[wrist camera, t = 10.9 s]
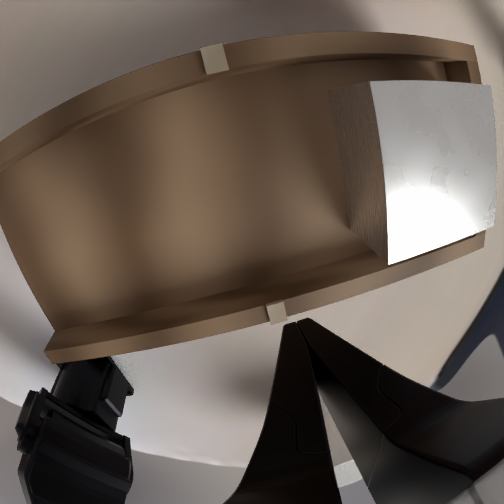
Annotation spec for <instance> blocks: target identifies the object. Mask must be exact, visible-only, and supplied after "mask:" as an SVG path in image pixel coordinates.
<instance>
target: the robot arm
mask: <svg viewBox="0 0 504 504" xmlns="http://www.w3.org/2000/svg"><path fill="white" fill-rule="evenodd" d="M56 364H57V365H58V367H59V368H60V371H59V373H58V376H57V378H56V380H55V383H54V385H53V387H52V390H51V392H50V393H49V392H48V390H46V389H45V388H43V387H42V389H41V390H40V391H39V392H38V391H32V390H30V391H29V393H28V395H27V397H26V399H25V401H24V404H23V406H22V409H21V411H20V414H19V417H18V420H17V423H16V427H15V429H16V432H17V434H18V439H17V440H18V445H17V450H18V451H20V452H21V453H23V454H22V458H21V461H20V464H19V467H18V476H19V480H20V483H21V487H22V490H23V493H24V496H25V499H26V503H27V504H125V499H126V495H127V493H128V492H129V490H130V488H131V485H132V481H133V466H132V456H131V446H130V438H129V437H127V436H122V435H120V434H118V433H116V432H115V430H116V425H117V420H118V417H121V416H122V413H123V408H124V403H125V399H126V396H131V395H133V393H134V389H133V388H132V386H131V385H130V384H129V382H128V381H127V380H126V378H125V377H124V375H123V374H122V373H121V371H120V370H119V368H118V367H117V366H116V364H115V363H114V361H113V360H112V358H111V357H110V356H106V357H100V358H93V359H87V360H80V361H72V362H64V363H56ZM318 391H319V392H318ZM319 393H320V395H321V397H322V399H323V401H324V403H325V405H326V407H327V409H328V411H329V413H330V415H331V417H332V419H333V421H334V423H335V425H336V427H337V429H338V431H339V433H340V435H341V437H342V438H343V440H344V442H345V444H346V446H347V448H348V450H349V452H350V454H351V456H352V458H353V460H354V462H355V464H356V466H357V468H358V470H359V472H360V474H361V476H362V478H363V479H364V481H365V483H366V485H367V487H368V489H369V491H370V493H371V495H372V497H373V499H374V501H375V503H376V504H504V398H498V399H491V400H483V401H473V402H470V401H462V400H458V399H455V398H452V397H449V396H447V395H445V394H442V393H440V392H438V391H435V390H433V389H431V388H428V387H426V386H424V385H421V384H419V383H417V382H415V381H413V380H411V379H409V378H406V377H405V376H403V375H401V374H399V373H397V372H396V371H394V370H392V369H391V368H389V367H387V366H386V365H383V364H382V363H381V362H379V361H377V360H376V359H374V358H372V357H371V356H369V355H368V354H366V353H364V352H363V351H361V350H359V349H358V348H356V347H355V346H353V345H351V344H350V343H348V342H347V341H345V340H343V339H342V338H340V337H339V336H337V335H336V334H334V333H332V332H331V331H329V330H328V329H326V328H324V327H323V326H321V325H320V324H318V323H317V322H315V321H313V320H312V319H310V318H305V319H302V320H299V321H297V323H296V322H292V323H289V324H286V325H284V327H283V332H282V337H281V343H280V348H279V354H278V359H277V364H276V369H275V374H274V380H273V385H272V390H271V394H270V399H269V404H268V408H267V413H266V417H265V421H264V425H263V428H262V431H261V434H260V437H259V440H258V442H257V445H256V447H255V450H254V452H253V455H252V457H251V459H250V462H249V464H248V466H247V469H246V471H245V473H244V476H243V478H242V480H241V482H240V484H239V486H238V487H237V489H236V490H235V492H234V493H233V494H232V495H231V496H230V497H229V498H228V500H226V502H224V503H223V504H342V501H341V496H340V492H339V488H338V484H337V480H336V476H335V472H334V467H333V462H332V457H331V452H330V446H329V441H328V436H327V431H326V426H325V421H324V416H323V411H322V407H321V402H320V397H319Z"/></svg>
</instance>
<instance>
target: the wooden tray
mask: <svg viewBox="0 0 504 504" xmlns="http://www.w3.org/2000/svg"><path fill="white" fill-rule="evenodd" d="M393 80H423V81H447V82H461V83H472V84H481V85H482V83H481V77H480V72H479V67H478V62H477V57H476V53H475V49H474V46H473V45H469V44H464V43H459V42H454V41H449V40H444V39H438V38H431V37H424V36H416V35H407V34H397V33H382V32H317V33H303V34H291V35H282V36H274V37H266V38H260V39H253V40H247V41H242V42H236V43H231V44H226V45H223V44H222V43H219V44H215V45H210V46H206V47H202V48H200V51H196V52H192V53H189V54H185V55H182V56H178V57H175V58H171V59H168V60H165V61H162V62H159V63H156V64H153V65H150V66H147V67H144V68H141V69H139V70H136V71H133V72H131V73H128V74H125V75H123V76H120V77H118V78H115V79H113V80H111V81H108V82H106V83H104V84H101V85H99V86H97V87H95V88H93V89H90V90H88V91H86V92H84V93H82V94H80V95H78V96H76V97H74V98H72V99H70V100H68V101H66V102H64V103H62V104H61V105H59V106H57V107H55V108H53V109H51V110H50V111H48V112H46V113H44V114H43V115H41V116H39V117H38V118H36V119H34V120H33V121H31V122H29V123H28V124H26V125H25V126H23V127H22V128H20V129H18V130H17V131H15V132H14V133H12V134H11V135H10V136H8V137H7V138H5V139H4V140H2V141H1V142H0V224H1V227H2V229H3V232H4V234H5V236H6V239H7V241H8V244H9V246H10V248H11V250H12V253H13V255H14V257H15V259H16V261H17V263H18V265H19V267H20V270H21V272H22V274H23V276H24V278H25V279H26V281H27V283H28V285H29V287H30V289H31V291H32V293H33V294H34V296H35V298H36V300H37V302H38V303H39V305H40V307H41V309H42V310H43V312H44V314H45V315H46V317H47V319H48V320H49V322H50V323H51V325H52V327H53V328H54V330H55V332H54V334H53V336H52V338H51V339H50V341H49V343H48V345H47V347H46V348H45V350H44V353H45V354H46V355H47V357H48V358H49V360H50V361H51V362H52V364H56V363H64V362H72V361H80V360H87V359H93V358H100V357H106V356H113V355H119V354H124V353H130V352H136V351H141V350H147V349H152V348H157V347H162V346H167V345H172V344H177V343H182V342H186V341H191V340H196V339H200V338H204V337H209V336H213V335H217V334H222V333H226V332H230V331H234V330H238V329H242V328H246V327H250V326H254V325H258V324H262V323H265V322H269V321H270V323H271V324H275V323H279V322H282V321H286V320H287V316H291V315H294V314H298V313H301V312H305V311H308V310H311V309H315V308H318V307H321V306H325V305H328V304H331V303H334V302H338V301H341V300H344V299H347V298H350V297H353V296H356V295H359V294H362V293H365V292H368V291H371V290H374V289H377V288H380V287H383V286H386V285H389V284H391V283H394V282H397V281H400V280H403V279H405V278H408V277H411V276H413V275H416V274H419V273H421V272H424V271H427V270H429V269H432V268H434V267H437V266H440V265H442V264H445V263H447V262H450V261H452V260H454V259H457V258H459V257H462V256H464V255H467V254H469V253H471V252H474V251H476V250H478V249H481V248H483V247H484V240H485V231H486V230H483V231H481V232H478V233H475V234H473V235H470V236H468V237H465V238H462V239H460V240H457V241H454V242H452V243H449V244H446V245H443V246H441V247H438V248H435V249H432V250H430V251H427V252H424V253H421V254H418V255H415V256H412V257H410V258H407V259H404V260H401V261H398V262H395V263H392V264H389V265H388V264H387V263H386V262H385V261H384V260H383V259H382V258H381V257H380V256H379V255H377V254H376V253H375V252H374V251H373V250H372V249H371V248H370V247H369V246H368V245H366V244H365V243H364V242H363V241H362V240H361V239H360V238H359V237H357V236H356V235H355V234H354V233H353V232H352V231H350V230H349V222H348V213H347V204H346V196H345V189H344V181H343V174H342V168H341V161H340V155H339V149H338V143H337V137H336V132H335V126H334V121H333V116H332V111H331V106H330V101H329V97H328V92H327V90H330V89H334V88H339V87H344V86H348V85H353V84H358V83H364V82H369V81H393Z"/></svg>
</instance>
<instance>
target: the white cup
mask: <svg viewBox="0 0 504 504" xmlns="http://www.w3.org/2000/svg"><path fill="white" fill-rule="evenodd" d="M318 392H319V391H318ZM319 397H320V402H321V407H322V411H323V416H324V421H325V426H326V431H327V436H328V441H329V446H330V452H331V457H332V462H333V467H334V472H335V476H336V480H337V484H338V488H339V487H342V486H346V485H348V484H351V483H354V482H356V481H359V480H361V479H363V478H362V476H361V474H360V472H359V470H358V468H357V466H356V464H355V462H354V460H353V458H352V456H351V454H350V452H349V450H348V448H347V446H346V444H345V442H344V440H343V438H342V437H341V435H340V433H339V431H338V429H337V427H336V425H335V423H334V421H333V419H332V417H331V415H330V413H329V411H328V409H327V407H326V405H325V403H324V401H323V399H322V397H321V395H320V393H319Z"/></svg>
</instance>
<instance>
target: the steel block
mask: <svg viewBox="0 0 504 504" xmlns="http://www.w3.org/2000/svg"><path fill="white" fill-rule="evenodd" d="M327 92H328V97H329V101H330V106H331V111H332V116H333V121H334V126H335V132H336V137H337V143H338V149H339V155H340V161H341V168H342V174H343V181H344V189H345V196H346V204H347V213H348V222H349V230H350V231H352V232H353V233H354V234H355V235H356V236H357V237H359V238H360V239H361V240H362V241H363V242H364V243H365V244H366V245H368V246H369V247H370V248H371V249H372V250H373V251H374V252H375V253H376V254H377V255H379V256H380V257H381V258H382V259H383V260H384V261H385V262H386V263H387V264H388V265H389V264H392V263H395V262H398V261H401V260H404V259H407V258H410V257H412V256H415V255H418V254H421V253H424V252H427V251H430V250H432V249H435V248H438V247H441V246H443V245H446V244H449V243H452V242H454V241H457V240H460V239H462V238H465V237H468V236H470V235H473V234H475V233H478V232H481V231H483V230H486V229H488V228H491V227H493V226H494V220H495V208H496V190H497V146H496V128H495V117H494V107H493V99H492V92H491V86H489V85H481V84H472V83H461V82H447V81H423V80H393V81H369V82H364V83H358V84H353V85H348V86H344V87H339V88H334V89H330V90H327Z"/></svg>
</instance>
